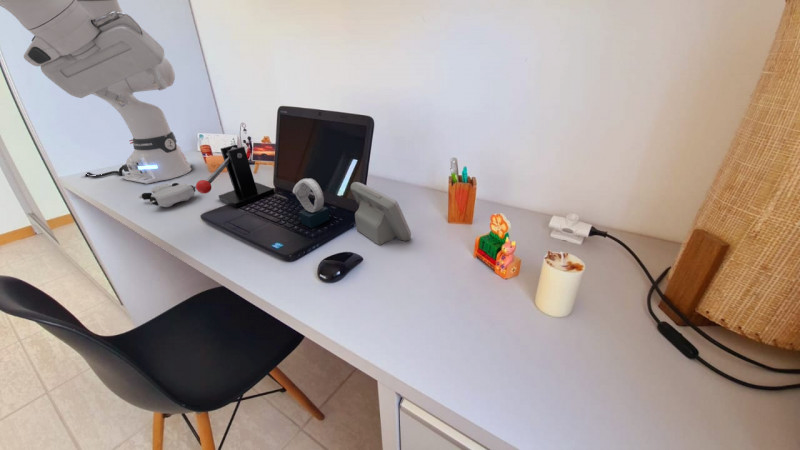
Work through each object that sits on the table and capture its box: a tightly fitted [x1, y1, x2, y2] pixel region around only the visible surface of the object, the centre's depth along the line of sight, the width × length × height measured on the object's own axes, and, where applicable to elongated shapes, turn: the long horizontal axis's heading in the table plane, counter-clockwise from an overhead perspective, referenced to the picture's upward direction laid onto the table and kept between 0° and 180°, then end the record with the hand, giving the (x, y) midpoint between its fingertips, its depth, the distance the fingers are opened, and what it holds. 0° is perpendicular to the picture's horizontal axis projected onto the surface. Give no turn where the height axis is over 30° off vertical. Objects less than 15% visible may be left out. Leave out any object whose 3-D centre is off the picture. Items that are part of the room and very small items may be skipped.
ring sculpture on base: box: [292, 177, 331, 229], centre depth 78 cm, size 6×8×11 cm
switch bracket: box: [218, 144, 276, 209], centre depth 93 cm, size 12×10×15 cm
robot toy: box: [138, 182, 196, 208], centre depth 96 cm, size 12×4×15 cm
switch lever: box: [195, 147, 235, 194], centre depth 89 cm, size 15×4×4 cm
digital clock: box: [350, 181, 412, 246], centre depth 72 cm, size 16×9×11 cm, turn 27°
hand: (144, 96), depth 68 cm, fingers open, 8 cm apart
